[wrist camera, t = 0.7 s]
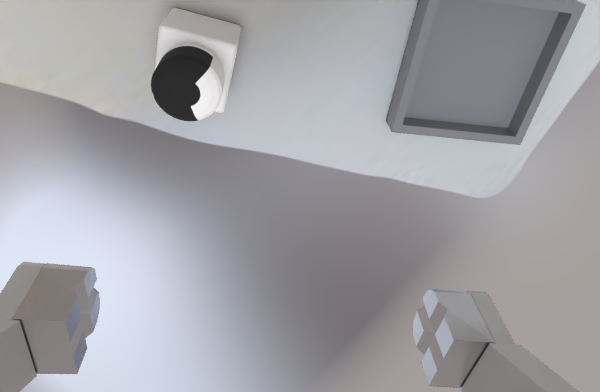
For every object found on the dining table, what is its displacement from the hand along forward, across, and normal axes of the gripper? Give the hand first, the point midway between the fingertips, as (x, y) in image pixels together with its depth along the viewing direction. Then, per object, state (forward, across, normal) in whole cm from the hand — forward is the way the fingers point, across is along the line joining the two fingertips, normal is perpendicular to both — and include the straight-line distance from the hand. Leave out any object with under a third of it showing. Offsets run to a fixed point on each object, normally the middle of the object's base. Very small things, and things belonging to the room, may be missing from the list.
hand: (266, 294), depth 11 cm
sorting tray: (+41, -24, +6) cm, 48 cm away
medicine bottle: (+42, +6, +8) cm, 43 cm away
